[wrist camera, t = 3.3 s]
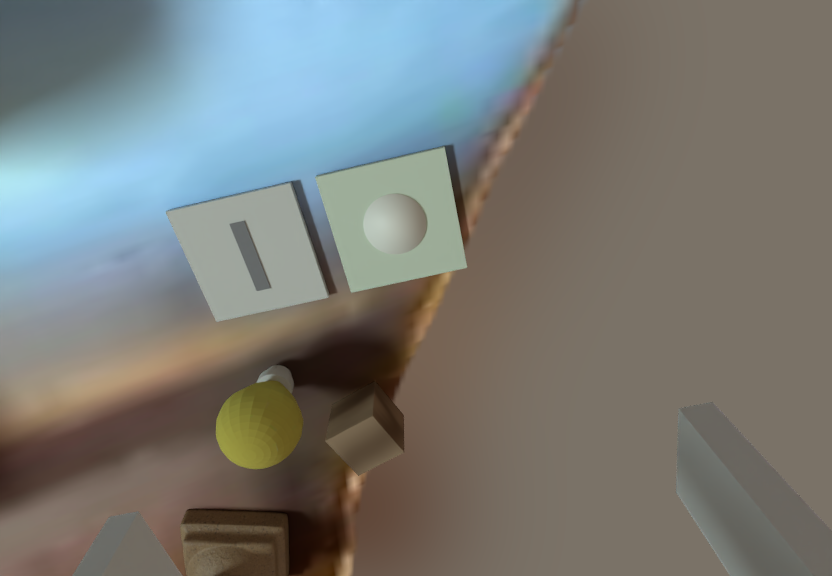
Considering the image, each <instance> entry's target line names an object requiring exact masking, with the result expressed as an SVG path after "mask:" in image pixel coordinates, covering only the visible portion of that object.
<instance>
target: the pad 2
mask: <svg viewBox="0 0 832 576" xmlns="http://www.w3.org/2000/svg"><path fill="white" fill-rule="evenodd" d="M315 178H316V181H317V184H318V188H319V191H320V194H321V197H322V200H323V204H324V207H325V210H326V213H327V216H328V220H329V223H330V226H331V229H332V233H333V236H334V239H335V242H336V245H337V249H338V252H339V255H340V258H341V261H342V265H343V268H344V271H345V274H346V277H347V281H348V284H349V287H350V290H351V293H352V292H357V291H362V290H366V289H371V288H375V287H380V286H385V285H389V284H394V283H399V282H403V281H408V280H413V279H417V278H422V277H426V276H431V275H436V274H440V273H445V272H450V271H454V270H458V269H464V268H467V264H466V259H465V253H464V248H463V242H462V237H461V232H460V226H459V221H458V216H457V210H456V205H455V200H454V194H453V189H452V184H451V178H450V173H449V168H448V162H447V157H446V152H445V147H444V146H442V147H438V148H433V149H429V150H425V151H420V152H416V153H412V154H408V155H403V156H399V157H395V158H390V159H386V160H382V161H377V162H373V163H369V164H364V165H360V166H356V167H351V168H347V169H343V170H338V171H334V172H330V173H326V174H321V175H317V176H316V177H315Z"/></svg>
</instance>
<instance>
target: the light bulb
mask: <svg viewBox="0 0 832 576" xmlns="http://www.w3.org/2000/svg"><path fill="white" fill-rule="evenodd" d="M293 387H294V382H293V379H292V375H291V372H290V371H289V369H287V368H286V367H284V366H281V365H274V366H271V367H270V368H269V369H268V370H266V371H264V372H263V373H262V374H260V376H259V378H258V381H257V383H255V384H253V385H250V386H248V387H246V388H244V389H242V390H240V391H238V392H236V393H234V394H233V395H232V396H231V397H230V398H228V399H227V400H226V401H225V403H224V404H223V406H222V408H221V410H220V412H219V415H218V417H217V422H216V438H217V440H218V443H219V446H220V448H221V451H222V452H223V453H224V454H225V455H226V456H227V458H228V459H229V460H231V461H232V462H234V463H235V464H237V465H239V466H242V467H245V468H251V469H261V468H267V467H270V466H272V465H275V464H278V463H279V462H281V461H282V460H283V459H285V458H286V457H287V456H288V455H289V454H290V453H291V452H292V451H293V450H294V448H295V446H296V445H297V443H298V441H299V440H300V437H301V434H302V426H303V418H302V414H301V411H300V409H299V407H298V404H297V402H296V400H295V398H294V397H293V395H292V391H293Z"/></svg>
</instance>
